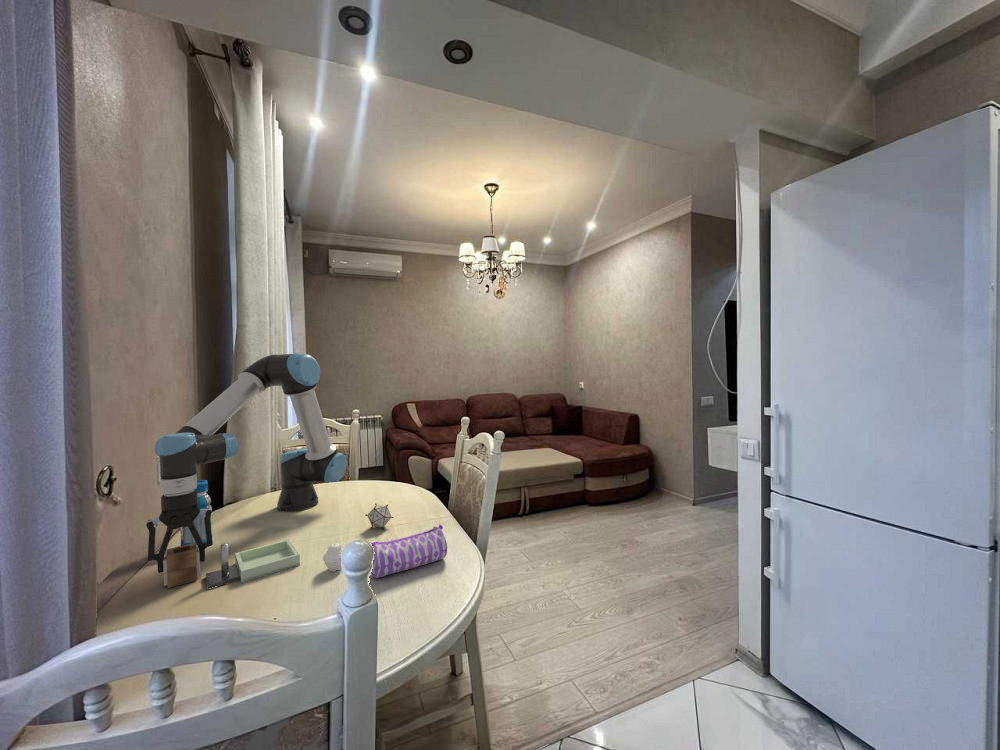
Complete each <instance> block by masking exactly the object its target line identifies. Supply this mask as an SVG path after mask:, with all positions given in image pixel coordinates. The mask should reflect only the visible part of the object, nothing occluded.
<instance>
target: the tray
mask: <svg viewBox="0 0 1000 750" xmlns="http://www.w3.org/2000/svg"><path fill="white" fill-rule="evenodd" d="M300 556H301V555H300V552H298V550H297V549H296V547H295V546H294V545H293V543H292V542H291V540H290V539H285V540H281V541H277V542H273V543H269V544H265V545H262V546H258V547H254V548H249V549H245V550H242V551H239V552H235V553H234V561H235V562H234V563H235V565H237V567H238V570H239V573H240V579H241V580H240V582H241V583H245V581H246V582H248V581H251V580H255V579H259V578H261V577H266V576H269V575H272V574H275V573H274V572H276V573H278V571H279V572H282V571H286V570H289V569H292V568H295V567H298V566H300V565H301V559H300V558H301V557H300ZM285 569H286V570H285ZM271 573H272V574H271ZM268 574H269V575H268ZM265 575H266V576H265Z"/></svg>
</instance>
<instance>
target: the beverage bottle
mask: <svg viewBox="0 0 1000 750" xmlns="http://www.w3.org/2000/svg"><path fill="white" fill-rule="evenodd" d="M195 490H196V491H197V497H198V506H199V508H200V509H208V508H210V509H211V511H212V512H213V509H212V507H213V506H212V505H211V502H212V499H211V497H210V495H209V494H208V493H207V492H208V490H209V483H208V480H206V479H197V488H196V489H195ZM193 522H194V524H195V526H196V528H197V531H198V533H199V535H200V537H201V539H202V541H203V543H204V542H206V541H207V539H206V531H205V523H204V518H203V517H202V516H201V514H198V516H197V517H196V518H195V520H194V521H193ZM210 524H211V525H212V516H211V517H210ZM211 532H212V529H211ZM212 533H213V532H212ZM192 543H195V544H196V542H195V540H194V538H193V536H192V534H191V531H190V530H189V528H188V527H180V546H183V545H188V544H192ZM196 549H198V546H197V544H196Z"/></svg>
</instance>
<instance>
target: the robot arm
mask: <svg viewBox="0 0 1000 750" xmlns="http://www.w3.org/2000/svg"><path fill="white" fill-rule="evenodd" d="M320 375H321V367H320V365H319V362H318V361H317V360H316V358H314V357H313V356H312V355H310V354H307V353H287V354H286V353H285V354H284V353H283V354H282V353H281V354H270V355H266V356H264V357H262V358H260V359H258V360H256V361H255V362H253V363H252V364H250V365H249V366H247V367H245V369H244V370H242V371H241V372H240V373H239V374H238V376H237V379H236V381H234V382H233V383H232V384H231V385H230V386H228V387H227V388H226V389H225V390H223V392H221V393H220V394H219V395H218V396H217V397H216V398H214V400H212V401H210V403H208V405H206V406H205V407H204V408H203V409H202V410H201V411H199V412H198V413H197V414H196V415H195V416H194V417H193V418H191V419H190V420H189V421H188V422H187V423H185V424H184V425H183V426H182V427H181V428H180V429H178V430H177V431H176V432H175V433H167V434H165V435H162V436H160V437H159V438H158V439H157V440H156V442H155V444H154V452H155V455H156V457H159V458H158V461H159V475H160V477H159V478H160V479H159V480H160V483H159V484H160V494H161V497H160V503H161V504H160V505H161V507H160V509H161V510H160V511H161V512H160V514H159V516H158V517H156V518H153V519H148V520H147V521H146V524H145V525H146V528H147V530H148V545H147V546H148V547H147V548H148V549H147V560H148V561H149V562H150V561H151V562H152V561H156V563H157V564H156V565H157V573H158V574H162V573H163V587H164V586H168V581H167V555H166V553H167V548H168V546H169V544H170V540H171V537H172V535H173V533H174V532H173V531H174V530H178V529H179V528H180V527H188V528H189V530H190V531H191V534H192V536H193V538H194V540H195V542H196V544H197V546H198V547H197V548H196V559H197V578H198V577H201V563H202V562H205V560H206V549H207V548H209V547H212V546H213V532H211V530H212V523H211V524H210V517H211V518H212V513H213V510H212V511H211V509H210V508H208V509H200V508H199V506H198V497H197V491H196V490H195V489H196V488H197V480H198V478H197V474H198V473H197V471H198V470H197V467H198V466H200V465H201V466H202V465H204V464H208V463H213V462H217V461H224V460H226V459H229V458H232V457H233V456H234V455H235V454H236V453H237V452H238V448H239V441H238V438H237V437H236V436H235V435H234V434H233V433H230V432H226V433H224V432H223V433H221V432H220V433H216V432H217V431H218V430H219V429H220V428H221V427H223V425H225V424H226V422H228V421H229V420H230V419H231V418H232V417H234V415H235V414H236V413H238V412H239V411H240V410H241V409H242V408H243V407H244V406H245V405H246V404H247V403H248V402H249V401H250V400H251V399H252V398H254V397H255V395H257V394H258V395H259V394H262V393H263V392H264V391H266V390H267V389H268V388H272V387H276V386H277V387H281V389H282V393H283V394H284V395H285V396H288V397H289V399H290V401H291V405H292V407H293V410H294V413H295V415H296V416H295V417H296V419H297V422H298V423H297V424H298V426H299V428H300V431H301V434H302V437H303V440H304V443H305V447H306V448H299V449H294V450H289V451H286V452H285V451H284V453H282V454H281V457H280V479H281V481H280V482H281V483H280V484H281V490H280V494H279V497H278V499H277V503H276V507H277V508H276V509H277V510H278V511H279V512H285V513H286V512H287V513H288V512H290V513H291V512H299V511H304V510H307V509H312V508H314V507H315V506H317V505H318V504H319V496H318V493H317V492H316V489H315V486H314V483H326V484H328V483H337V482H338V481H340V480H341V479H342V478H343V477H344V475H345V473H346V469H347V466H348V465H347V463H348V460H347V457H346V455H345V454H344V453H342V452H338V449H337V446H336V444H334V443H331V439H330V436H329V434H328V431H327V430H328V429H327V427H326V425H325V424H326V423H325V420H324V416H323V414H322V413H323V412H322V411H321V407H320V404H319V401H318V399H317V394H316V392H315V390H316V388H317V386H318V382H319V381H320V377H321V376H320ZM198 514H201V516H202V517H203V518H204V523H205V531H206V539H207V541H206V542H204V543H203V541H202V539H201V537H200V535H199V533H198V531H197V528H196V526H195V524H194V522H193V521H194V520H195V518H196V517H197V516H198ZM160 522H161V523H162V524H163V525H165V526H166V530H165V533H164V536H163V538H162V541H161V545H160V548H159V550H158V553H155V551H156V528H158V526H159V524H160ZM165 555H166V556H165Z"/></svg>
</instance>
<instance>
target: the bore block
mask: <svg viewBox="0 0 1000 750" xmlns="http://www.w3.org/2000/svg"><path fill="white" fill-rule="evenodd" d="M196 549H197V548H196V544H195V543H192V544H188V545H183V546H181V545H180V546H175V547H172V548H171V547H170V548H168V549H166V556H167V581H168V585H167V589H171V588H174V587H178V586H181V585H185V584H188V583H191V582H196V581H198V577H197V559H196Z"/></svg>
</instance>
